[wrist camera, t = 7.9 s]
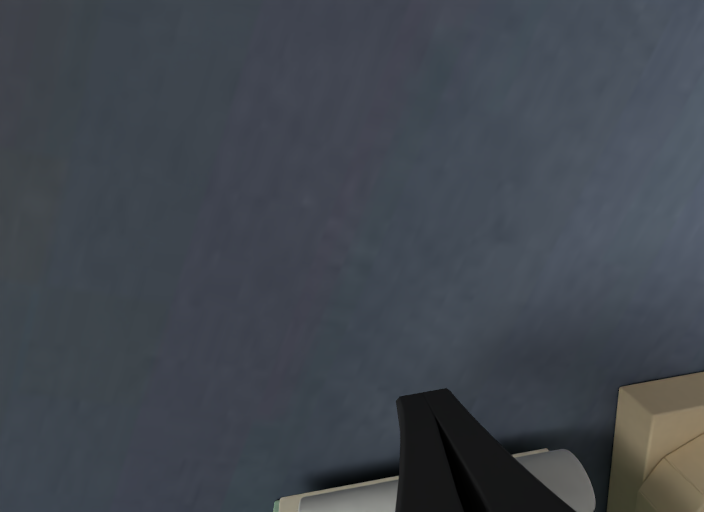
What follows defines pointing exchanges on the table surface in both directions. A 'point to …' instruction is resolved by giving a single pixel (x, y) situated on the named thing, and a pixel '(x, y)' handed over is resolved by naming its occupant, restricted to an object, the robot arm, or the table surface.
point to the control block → (659, 447)
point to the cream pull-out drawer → (380, 495)
